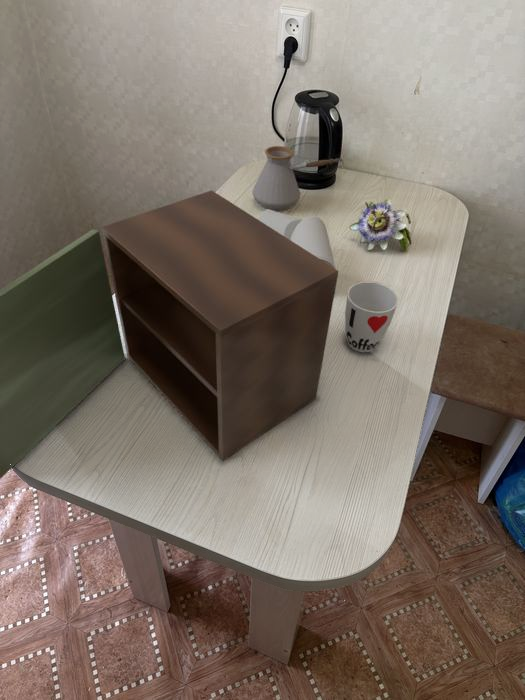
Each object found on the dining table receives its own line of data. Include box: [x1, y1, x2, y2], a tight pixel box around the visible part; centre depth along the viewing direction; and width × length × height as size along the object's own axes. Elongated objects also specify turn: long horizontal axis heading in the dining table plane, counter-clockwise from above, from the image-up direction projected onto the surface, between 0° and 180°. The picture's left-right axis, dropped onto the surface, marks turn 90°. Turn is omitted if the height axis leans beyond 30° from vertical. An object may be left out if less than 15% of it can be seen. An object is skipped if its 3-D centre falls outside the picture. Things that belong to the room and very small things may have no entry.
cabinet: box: [101, 189, 339, 462], centre depth 72 cm, size 18×26×24 cm
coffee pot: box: [252, 145, 345, 213], centre depth 116 cm, size 21×12×15 cm, turn 59°
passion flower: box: [349, 196, 412, 252], centre depth 110 cm, size 11×11×12 cm
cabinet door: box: [0, 228, 126, 480], centre depth 67 cm, size 8×26×24 cm, turn 153°
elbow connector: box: [257, 209, 337, 270], centre depth 100 cm, size 18×10×20 cm
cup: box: [344, 281, 399, 353], centre depth 85 cm, size 8×8×10 cm
